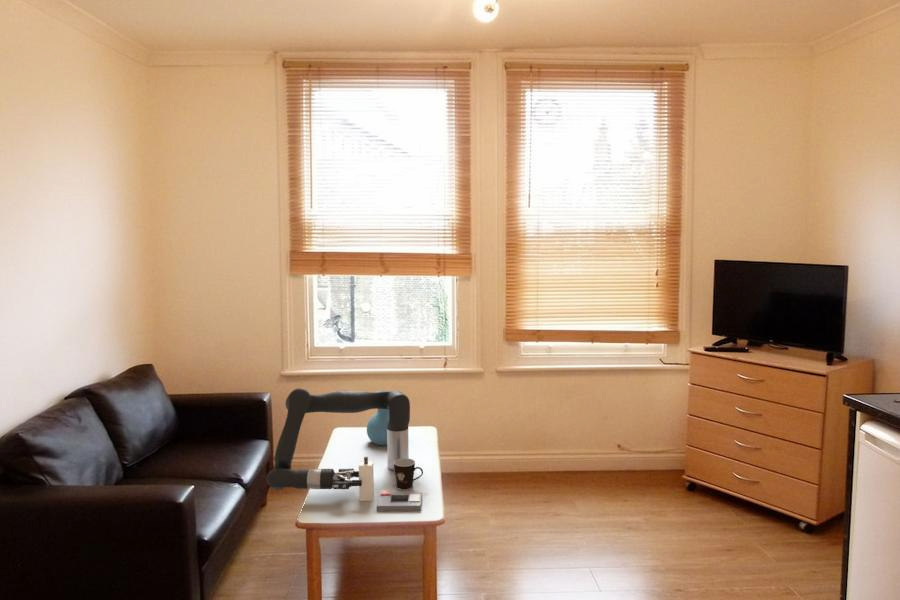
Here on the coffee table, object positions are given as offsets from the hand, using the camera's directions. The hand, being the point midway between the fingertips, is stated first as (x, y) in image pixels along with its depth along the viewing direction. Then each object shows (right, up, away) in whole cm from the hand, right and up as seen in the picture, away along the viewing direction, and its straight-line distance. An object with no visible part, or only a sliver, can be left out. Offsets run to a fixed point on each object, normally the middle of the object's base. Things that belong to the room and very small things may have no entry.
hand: (363, 478), depth 234 cm
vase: (+1, -1, +64) cm, 64 cm away
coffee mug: (+16, -7, +11) cm, 21 cm away
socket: (+14, -8, -4) cm, 17 cm away
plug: (+1, -8, +1) cm, 8 cm away
